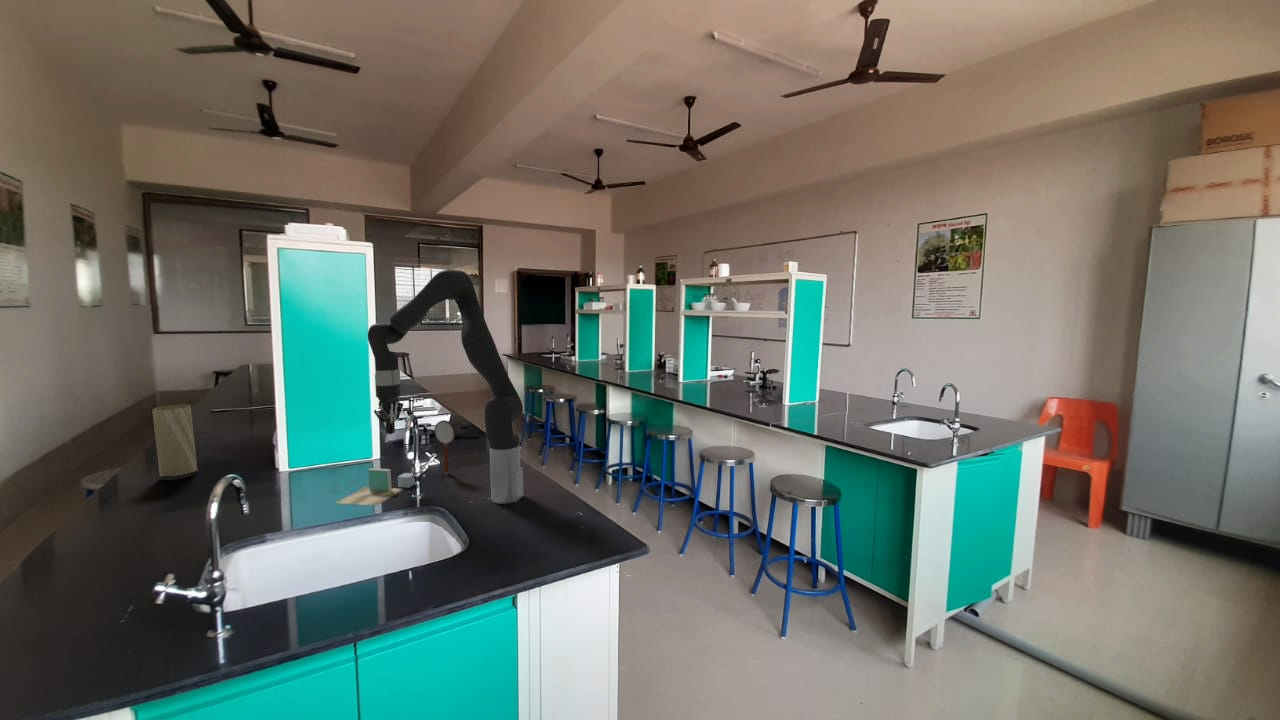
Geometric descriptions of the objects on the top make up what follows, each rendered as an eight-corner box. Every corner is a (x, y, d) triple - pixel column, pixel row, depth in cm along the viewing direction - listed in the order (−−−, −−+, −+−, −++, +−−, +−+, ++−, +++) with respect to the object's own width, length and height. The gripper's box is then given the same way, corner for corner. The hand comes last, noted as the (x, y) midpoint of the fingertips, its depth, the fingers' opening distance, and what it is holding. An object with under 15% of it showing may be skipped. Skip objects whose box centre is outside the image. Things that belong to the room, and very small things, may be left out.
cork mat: (403, 490, 171) (403, 488, 171) (376, 506, 157) (376, 505, 157) (365, 487, 173) (365, 486, 173) (335, 504, 159) (334, 503, 159)
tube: (152, 480, 180) (143, 410, 177) (178, 471, 190) (171, 404, 187) (179, 481, 179) (172, 410, 177) (204, 471, 189) (198, 404, 186)
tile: (391, 489, 170) (390, 469, 170) (388, 491, 169) (387, 470, 168) (372, 488, 171) (370, 468, 171) (369, 490, 170) (367, 469, 169)
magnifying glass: (458, 475, 185) (456, 420, 183) (455, 476, 184) (452, 421, 181) (438, 472, 188) (436, 419, 186) (435, 474, 187) (432, 420, 184)
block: (416, 484, 176) (415, 473, 176) (409, 488, 173) (408, 477, 172) (405, 484, 177) (404, 472, 177) (398, 488, 173) (397, 476, 173)
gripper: (385, 386, 166) (388, 439, 168) (409, 380, 179) (412, 428, 181) (364, 385, 167) (367, 438, 169) (389, 379, 180) (392, 428, 182)
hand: (390, 433), depth 175 cm, fingers closed
